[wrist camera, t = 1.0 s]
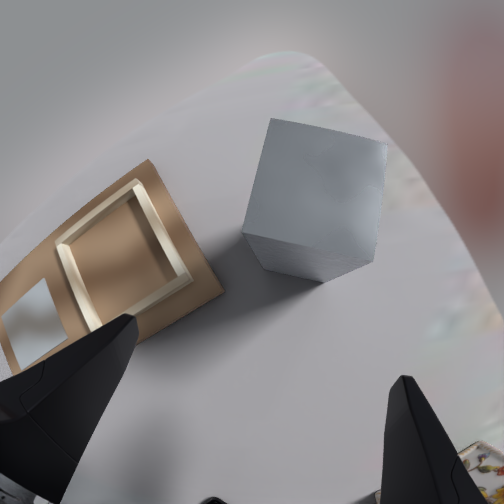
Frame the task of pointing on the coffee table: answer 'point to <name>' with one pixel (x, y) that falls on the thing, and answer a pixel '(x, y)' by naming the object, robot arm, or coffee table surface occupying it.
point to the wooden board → (105, 272)
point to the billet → (315, 201)
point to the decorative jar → (482, 470)
